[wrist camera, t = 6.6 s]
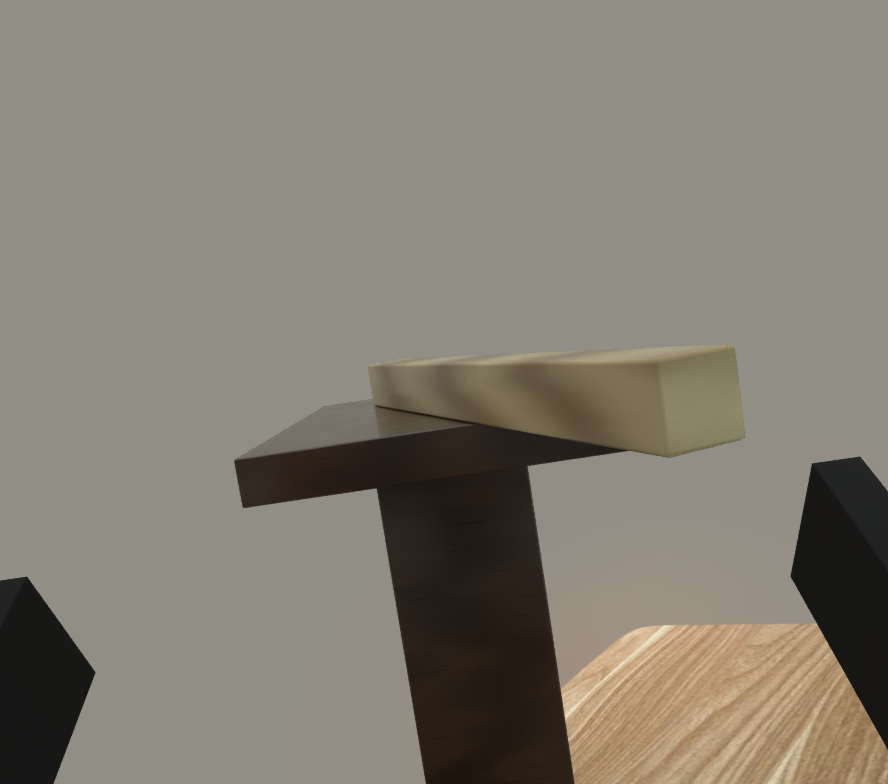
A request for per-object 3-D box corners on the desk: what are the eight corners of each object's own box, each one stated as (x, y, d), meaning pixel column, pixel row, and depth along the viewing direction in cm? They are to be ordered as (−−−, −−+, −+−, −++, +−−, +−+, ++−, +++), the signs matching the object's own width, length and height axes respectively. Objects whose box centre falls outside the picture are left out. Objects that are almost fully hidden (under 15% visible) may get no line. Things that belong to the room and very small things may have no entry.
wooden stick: (748, 439, 14) (736, 343, 13) (668, 459, 13) (655, 359, 13) (412, 398, 32) (406, 358, 32) (373, 406, 32) (366, 364, 32)
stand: (387, 1300, 24) (233, 459, 22) (416, 928, 39) (326, 404, 37) (751, 1262, 24) (636, 398, 21) (640, 900, 39) (565, 367, 36)
